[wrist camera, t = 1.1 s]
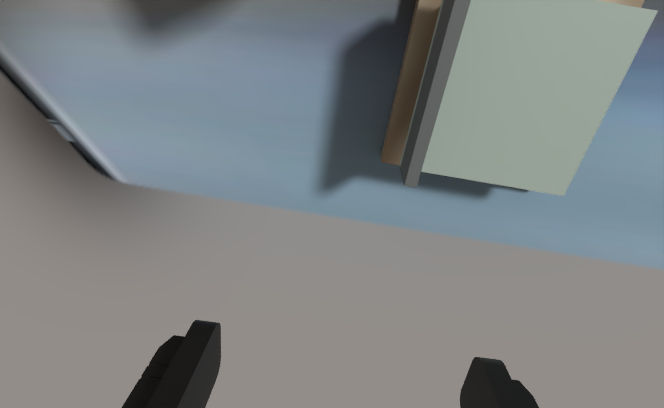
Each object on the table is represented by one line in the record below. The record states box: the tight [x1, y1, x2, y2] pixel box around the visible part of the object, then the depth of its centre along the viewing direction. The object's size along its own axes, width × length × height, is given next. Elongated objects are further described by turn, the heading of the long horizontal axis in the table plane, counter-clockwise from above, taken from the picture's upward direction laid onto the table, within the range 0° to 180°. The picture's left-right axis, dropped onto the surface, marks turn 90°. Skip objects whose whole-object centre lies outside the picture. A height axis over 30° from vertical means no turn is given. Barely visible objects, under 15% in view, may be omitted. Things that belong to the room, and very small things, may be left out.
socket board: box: [381, 0, 644, 165], centre depth 26 cm, size 14×14×4 cm
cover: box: [400, 0, 658, 196], centre depth 23 cm, size 12×12×4 cm
